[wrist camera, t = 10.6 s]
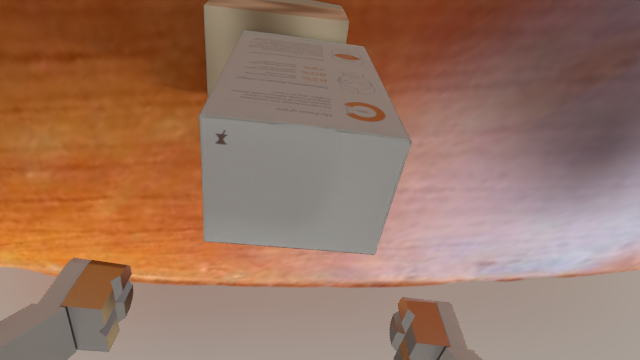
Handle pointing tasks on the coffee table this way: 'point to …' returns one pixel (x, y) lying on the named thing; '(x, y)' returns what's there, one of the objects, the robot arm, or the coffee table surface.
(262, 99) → the small box
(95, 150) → the coffee table surface
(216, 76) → the tower top block
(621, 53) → the coffee table surface
